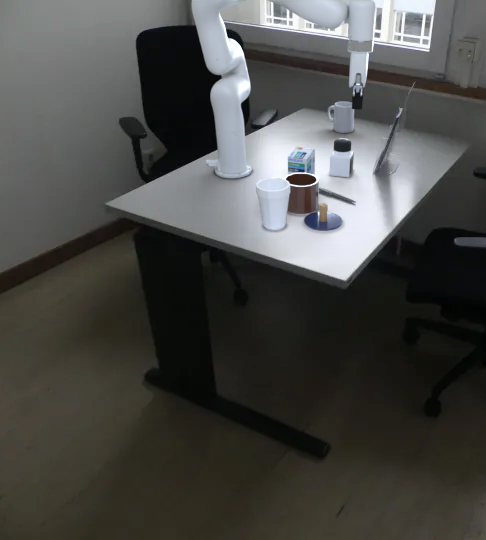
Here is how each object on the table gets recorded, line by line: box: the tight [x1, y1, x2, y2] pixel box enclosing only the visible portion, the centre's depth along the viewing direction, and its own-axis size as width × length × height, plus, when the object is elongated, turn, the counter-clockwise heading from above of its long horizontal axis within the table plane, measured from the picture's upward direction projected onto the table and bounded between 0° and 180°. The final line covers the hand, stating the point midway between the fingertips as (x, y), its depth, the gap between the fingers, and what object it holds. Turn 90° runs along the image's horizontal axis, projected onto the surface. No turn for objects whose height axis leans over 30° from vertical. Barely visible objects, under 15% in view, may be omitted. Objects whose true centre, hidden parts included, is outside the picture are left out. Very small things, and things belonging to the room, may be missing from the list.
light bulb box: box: [287, 146, 316, 176], centre depth 177 cm, size 11×7×11 cm, turn 167°
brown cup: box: [283, 173, 320, 215], centre depth 161 cm, size 10×10×10 cm
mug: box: [326, 101, 355, 134], centre depth 225 cm, size 12×8×11 cm
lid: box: [303, 202, 343, 232], centre depth 154 cm, size 11×11×6 cm
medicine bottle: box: [329, 137, 355, 178], centre depth 185 cm, size 7×7×12 cm
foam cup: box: [255, 177, 290, 230], centre depth 150 cm, size 10×9×13 cm
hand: (357, 104), depth 165 cm, fingers open, 9 cm apart
